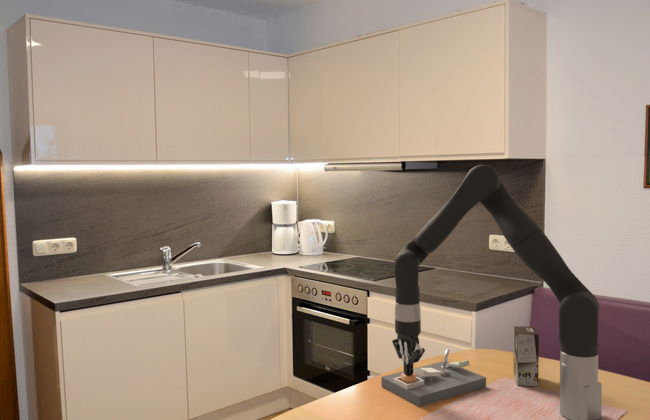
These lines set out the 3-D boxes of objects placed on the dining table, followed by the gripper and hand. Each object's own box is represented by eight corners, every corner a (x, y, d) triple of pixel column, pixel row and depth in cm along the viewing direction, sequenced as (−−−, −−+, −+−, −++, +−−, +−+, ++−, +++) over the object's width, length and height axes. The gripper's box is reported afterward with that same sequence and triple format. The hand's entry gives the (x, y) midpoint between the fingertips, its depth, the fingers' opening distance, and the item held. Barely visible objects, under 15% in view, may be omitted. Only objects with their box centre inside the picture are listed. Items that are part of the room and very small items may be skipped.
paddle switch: (469, 365, 173) (468, 360, 173) (461, 367, 171) (460, 362, 171) (456, 363, 178) (455, 358, 178) (448, 366, 176) (447, 361, 176)
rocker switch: (440, 375, 168) (441, 371, 168) (422, 376, 164) (423, 371, 164) (430, 371, 172) (431, 367, 172) (413, 372, 168) (413, 367, 168)
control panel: (486, 387, 168) (486, 373, 168) (419, 407, 155) (419, 392, 155) (445, 369, 184) (445, 356, 184) (381, 386, 171) (381, 372, 171)
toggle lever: (445, 371, 171) (451, 349, 172) (442, 370, 170) (448, 349, 171) (442, 370, 172) (448, 348, 173) (439, 369, 171) (444, 347, 172)
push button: (419, 382, 164) (419, 375, 164) (407, 385, 162) (407, 378, 161) (409, 377, 168) (409, 371, 167) (398, 380, 165) (398, 374, 165)
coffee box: (539, 386, 168) (539, 334, 166) (516, 385, 169) (516, 333, 168) (534, 375, 176) (534, 326, 175) (513, 374, 178) (512, 325, 177)
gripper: (432, 320, 159) (433, 379, 161) (403, 310, 171) (404, 365, 172) (412, 324, 156) (412, 384, 157) (384, 314, 167) (384, 370, 168)
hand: (408, 374), depth 165 cm, fingers closed
